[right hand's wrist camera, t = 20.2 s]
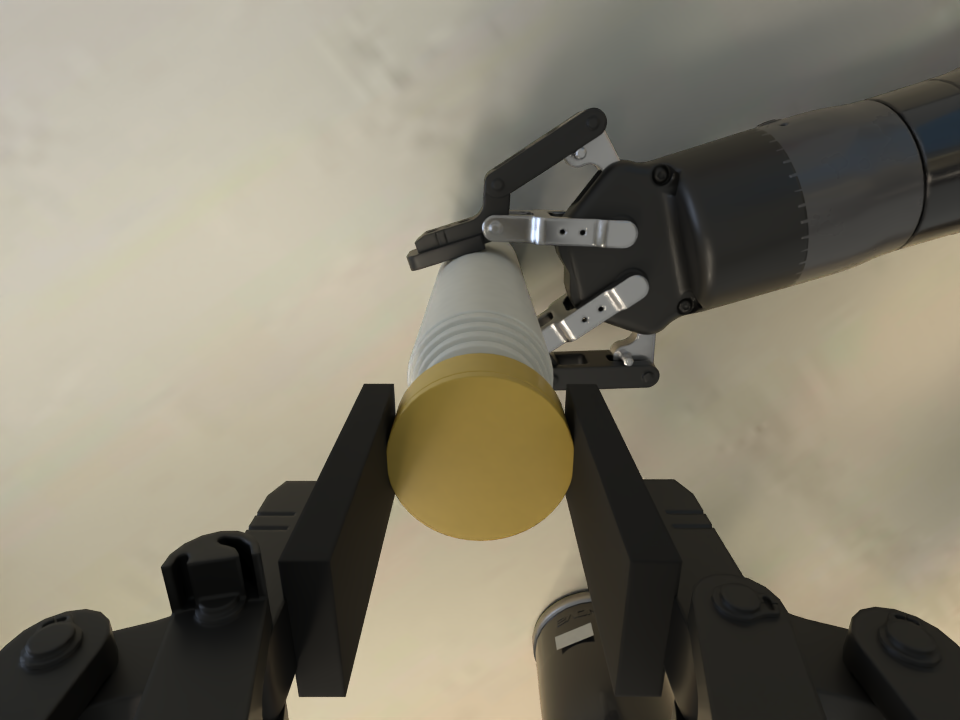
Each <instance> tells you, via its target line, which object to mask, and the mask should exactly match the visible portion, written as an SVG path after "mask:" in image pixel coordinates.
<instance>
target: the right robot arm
mask: <svg viewBox="0 0 960 720" xmlns="http://www.w3.org/2000/svg"><path fill="white" fill-rule="evenodd" d="M395 416H396V413H395V396H394V384H364V385H363V387H362V389H361V391H360V393H359V395H358V397H357V399H356V401H355V403H354V406H353V408H352V410H351V412H350V414H349V416H348V418H347V420H346V422H345V424H344V426H343V428H342V430H341V432H340V434H339V436H338V438H337V441H336V443H335V445H334V447H333V449H332V451H331V453H330V455H329V457H328V459H327V461H326V463H325V465H324V467H323V469H322V471H321V473H320V476H319V478H318V480H317V481H286V482H285V483H283V484H282V485H281V486H279V487H278V488H277V489H275V490H274V491H273V492H272V493H270V494H269V495H268V496H267V497H266V499H265V501H264V502H263V504H262V506H261V507H260V509H259V511H258V512H257V516H255V517H254V519H253V520H252V522H251V524H250V525H249V530H246V532H245V533H243V532H240V531H219V532H215V533H211V534H207V535H203V536H200V537H198V538H196V539H194V540H191V541H189V542H187V543H185V544H183V545H182V546H181V547H179V548H178V549H177V550H175V551H174V552H173V553H171V554H170V555H169V557H168V558H167V559H166V561H165V562H164V564H163V565H162V566H161V570H162V574H163V578H164V582H165V586H166V590H167V594H168V598H169V602H170V606H171V610H172V615H171V616H170V617H167V618H163V619H160V620H157V621H154V622H150V623H146V624H141V625H137V626H133V627H129V628H125V629H121V630H116V631H112V628H111V624H110V621H109V619H108V618H107V617H106V616H105V615H103V614H102V613H101V612H98V611H93V610H88V609H83V610H75V611H67V612H64V613H61V614H58V615H55V616H52V617H49V618H46V619H44V620H42V621H40V622H39V623H37V624H35V625H33V626H31V627H30V628H28V629H26V630H24V631H23V632H22V633H20V634H19V635H18V636H17V637H15V638H14V639H13V640H12V641H11V642H9V643H8V644H7V645H6V646H5V647H4V648H3V649H2V650H1V651H0V720H289V718H288V711H287V705H286V698H287V696H288V693H289V690H290V687H291V684H292V681H293V678H294V676H295V675H296V681H297V687H298V694H299V697H346V693H347V689H348V685H349V680H350V676H351V672H352V668H353V664H354V660H355V656H356V652H357V648H358V644H359V639H360V635H361V631H362V627H363V623H364V619H365V615H366V611H367V607H368V602H369V598H370V594H371V590H372V586H373V582H374V578H375V574H376V570H377V566H378V561H379V557H380V553H381V549H382V545H383V541H384V537H385V533H386V529H387V524H388V520H389V516H390V512H391V508H392V504H393V500H394V496H395V492H394V490H393V488H392V486H391V484H390V481H389V477H388V466H387V442H388V439H389V435H390V432H391V429H392V426H393V423H394V419H395ZM565 417H566V420H567V423H568V427H569V430H570V433H571V436H572V439H573V444H574V457H573V472H572V480H571V483H570V485H569V488H568V490H567V492H566V498H567V503H568V507H569V511H570V515H571V519H572V523H573V527H574V531H575V535H576V539H577V544H578V548H579V552H580V556H581V560H582V564H583V568H584V572H585V576H586V580H587V585H588V589H589V593H590V597H591V601H592V605H593V609H594V613H595V617H596V622H597V626H598V630H599V634H600V638H601V642H602V646H603V650H604V654H605V658H606V663H607V667H608V671H609V675H610V679H611V683H612V687H613V691H614V695H615V697H661V696H662V690H663V683H664V677H665V672H666V675H667V677H668V680H669V683H670V686H671V689H672V692H673V694H674V697H675V699H674V705H673V711H672V717H671V720H960V647H959V646H958V645H957V644H956V643H955V642H954V641H952V640H951V639H950V638H949V637H948V636H946V635H945V634H944V633H943V632H942V631H940V630H939V629H938V628H936V627H934V626H932V625H931V624H929V623H927V622H925V621H923V620H922V619H920V618H918V617H916V616H913V615H910V614H907V613H904V612H901V611H898V610H895V609H889V608H880V607H872V608H867V609H861V610H860V611H858V612H857V613H856V614H855V615H854V616H853V617H852V619H851V623H850V626H849V629H845V628H841V627H837V626H833V625H829V624H824V623H820V622H816V621H812V620H808V619H804V618H801V617H798V616H795V615H792V614H789V613H788V612H787V610H786V609H785V607H784V605H783V604H782V602H781V601H780V599H779V598H778V597H777V596H775V595H774V594H773V593H772V592H771V591H770V590H768V589H767V588H766V587H764V586H762V585H760V584H758V583H756V582H755V581H753V580H751V579H749V578H745V577H744V576H743V575H742V573H741V572H740V570H739V568H738V567H737V565H736V563H735V562H734V560H733V558H732V557H731V555H730V554H729V552H728V550H727V549H726V547H725V545H724V544H723V542H722V540H721V539H720V537H719V535H718V534H717V532H716V531H715V529H714V528H712V524H711V522H710V521H709V519H708V517H707V516H706V514H703V509H702V508H701V506H700V504H699V503H698V501H697V499H696V498H695V496H694V495H693V493H691V492H690V491H689V490H687V489H686V488H685V487H684V486H682V485H681V484H680V483H678V482H677V481H676V480H674V479H642V477H641V475H640V473H639V471H638V469H637V466H636V464H635V462H634V460H633V458H632V456H631V454H630V452H629V450H628V448H627V446H626V444H625V442H624V440H623V438H622V436H621V434H620V432H619V429H618V427H617V425H616V423H615V421H614V419H613V417H612V415H611V413H610V411H609V409H608V407H607V405H606V403H605V401H604V399H603V397H602V394H601V392H600V390H599V388H598V386H597V384H567V385H566V402H565Z"/></svg>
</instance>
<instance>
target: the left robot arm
mask: <svg viewBox="0 0 960 720" xmlns="http://www.w3.org/2000/svg"><path fill="white" fill-rule="evenodd" d="M606 125H607V119H606V116H605V114H604V112H603V111H601V110H600V109H598V108H590V109H587V110H584V111H581V112H578V113H577V114H575V115H574V116H572V117H571V118H569V119H568V120H566V121H565V122H563V123H561V124H560V125H558V126H557V127H555V128H554V129H552V130H551V131H549V132H548V133H546V134H545V135H543V136H542V137H540V138H539V139H537V140H536V141H534V142H533V143H531V144H530V145H528V146H527V147H525V148H524V149H522V150H521V151H519V152H517V153H516V154H514V155H513V156H511V157H510V158H508V159H507V160H505V161H504V162H502V163H501V164H499V165H498V166H496V167H495V168H493V169H492V170H490V171H489V172H488V173H487V174H486V176H485V179H484V195H483V205H482V208H481V210H480V212H479V213H478V214H476V215H475V216H473V217H470V218H467V219H464V220H461V221H458V222H454V223H451V224H448V225H445V226H442V227H438V228H435V229H432V230H429V231H426V232H425V233H424V234H422V235H421V236H420V237H419V238H418V239H417V240H416V242H415V245H416V248H417V249H414V250H412V251H410V252H409V254H408V255H407V260H408V262H409V265H410V268H411V271H415V270H419V269H423V268H426V267H429V266H432V265H436V264H439V263H442V262H445V261H449V260H452V259H455V258H458V257H461V256H464V255H467V254H471V253H475V252H478V251H481V250H484V249H486V247H485V244H486V243H489V242H518V243H533V244H538V245H555V249H556V253H557V254H558V256H559V258H560V260H561V261H562V263H563V265H564V284H565V288H566V292H567V293H566V294H564V295H563V296H561V297H560V298H559V299H557V300H556V301H554V302H553V303H552V304H551V305H550V306H549V307H548V309H547V310H546V311H544V312H543V313H541V314H540V315H538V316H537V319H538V322H539V325H540V328H541V331H542V334H543V337H544V340H545V343H546V346H547V349H548V352H549V355H550V358H551V362H552V367H553V390H554V391H555V390H566V385H567V384H597V386H598V388H599V389H616V388H647V387H651V386H653V385H655V384H656V383H657V381H658V380H659V371H658V370H657V368H656V367H655V365H654V349H655V336H656V333H658V332H660V331H661V330H663V329H664V328H665V327H666V326H667V325H668V324H669V323H671V322H672V321H673V320H675V319H677V318H679V317H681V316H683V315H687V314H692V313H697V312H702V311H706V310H709V309H713V308H716V307H720V306H723V305H727V304H730V303H734V302H737V301H741V300H744V299H748V298H751V297H755V296H758V295H762V294H765V293H769V292H772V291H776V290H779V289H783V288H786V287H790V286H793V285H797V284H800V283H804V282H807V281H811V280H814V279H818V278H821V277H825V276H828V275H832V274H835V273H838V272H841V271H844V270H847V269H850V268H852V267H855V266H857V265H860V264H862V263H864V262H867V261H869V260H871V259H874V258H876V257H878V256H881V255H883V254H886V253H889V252H892V251H895V250H899V249H902V248H906V247H909V246H913V245H916V244H920V243H923V242H927V241H930V240H934V239H937V238H941V237H944V236H948V235H952V234H956V233H960V67H959V68H957V69H955V70H953V71H951V72H948V73H946V74H944V75H941V76H938V77H935V78H931V79H928V80H925V81H922V82H919V83H916V84H913V85H910V86H907V87H903V88H900V89H897V90H894V91H891V92H888V93H884V94H881V95H878V96H875V97H872V98H868V99H865V100H863V101H859V102H855V103H851V104H846V105H841V106H835V107H828V108H823V109H818V110H813V111H809V112H806V113H802V114H798V115H795V116H792V117H789V118H785V119H778V120H771V121H767V122H765V123H762V124H760V125H758V126H757V127H756V128H754V129H750V130H747V131H744V132H741V133H738V134H734V135H731V136H728V137H725V138H722V139H719V140H715V141H712V142H709V143H706V144H703V145H699V146H696V147H693V148H690V149H687V150H684V151H680V152H677V153H674V154H671V155H668V156H665V157H661V158H658V159H655V160H652V161H648V162H641V163H637V162H633V161H628V160H620V159H619V157H618V155H617V153H616V151H615V149H614V147H613V145H612V143H611V141H610V139H609V137H608V135H607V133H606V131H605V129H606ZM561 160H564V161H565V163H566V164H568V165H570V166H573V167H582V166H584V165H587V164H592V165H594V166H596V168H597V169H598V171H597V173H596V174H595V175H594V176H593V178H592V179H591V180H590V182H589V183H588V184H587V185H586V187H585V188H584V189H583V191H582V192H581V193H580V194H579V196H578V197H577V198H576V199H575V201H574V202H573V203H572V205H571V206H570V207H569V208H568V210H567V211H566V210H509V206H510V193H512V192H513V191H515V190H516V189H518V188H519V187H521V186H523V185H524V184H526V183H527V182H529V181H530V180H532V179H533V178H535V177H537V176H538V175H540V174H541V173H543V172H544V171H546V170H547V169H549V168H550V167H552V166H554V165H555V164H557V163H558V162H560V161H561ZM584 317H585V319H583V318H584ZM602 322H605V323H608V324H611V325H614V326H617V327H620V328H623V329H626V330H629V331H632V333H631V335H630V336H629V337H628V338H626V339H624V340H619V341H617V342H615V343H614V344H613V345H612V346H611V348H610V350H595V351H565V352H552V351H553V350H555V349H556V348H558V347H559V346H561V345H562V344H564V343H566V342H572V341H575V340H576V339H578V338H580V337H581V336H583V335H584V334H586V333H587V332H589V331H590V330H592V329H593V328H595V327H596V326H598V325H599V324H601V323H602ZM533 650H534V657H535V661H536V665H537V674H538V686H539V695H540V705H541V714H542V720H671V717H672V711H673V705H674V699H675V697H674V694H673V692H672V689H671V686H670V683H669V680H668V677H667V675H666V672H665V677H664V683H663V690H662V696H661V697H615V695H614V691H613V687H612V683H611V679H610V675H609V671H608V667H607V663H606V658H605V654H604V650H603V646H602V642H601V638H600V634H599V630H598V626H597V622H596V617H595V613H594V609H593V605H592V601H591V597H590V593H589V591H586V592H581V593H576V594H573V595H570V596H567V597H565V598H563V599H561V600H559V601H557V602H556V603H554V604H553V605H552V606H550V607H549V608H548V609H547V610H546V611H545V612H544V613H543V614H542V615H541V617H540V618H539V620H538V621H537V623H536V626H535V628H534V632H533Z"/></svg>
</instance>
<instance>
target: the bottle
mask: <svg viewBox="0 0 960 720" xmlns="http://www.w3.org/2000/svg"><path fill="white" fill-rule="evenodd" d="M485 247H486V249H484V250H481V251H478V252H475V253H471V254H467V255H464V256H461V257H458V258H455V259H452V260H449V261H445V262H442V263H441V266H440V269H439V272H438V275H437V278H436V281H435V284H434V287H433V290H432V293H431V296H430V299H429V302H428V305H427V308H426V311H425V315H424V318H423V321H422V324H421V327H420V330H419V333H418V336H417V339H416V342H415V345H414V348H413V351H412V354H411V357H410V361H409V365H408V372H407V382H408V388H409V386H410V385H411V384H412V383H413V382H414V381H415V380H416V378H417V377H419V376H420V375H421V374H422V373H423V372H424V371H426V370H427V369H429V368H430V367H432V366H434V365H435V364H437V363H439V362H441V361H444V360H446V359H449V358H452V357H455V356H459V355H464V354H473V353H488V354H496V355H502V356H506V357H509V358H512V359H515V360H517V361H519V362H521V363H524V364H526V365H527V366H529V367H530V368H532V369H533V370H535V371H536V372H537V373H539V374H540V375H541V376H542V377H543V378H544V379H545V380H546V381H547V382H548V383H549V384H550V385H551V387H552V388H553V367H552V362H551V358H550V355H549V352H548V349H547V346H546V343H545V340H544V337H543V334H542V331H541V328H540V325H539V322H538V319H537V316H536V313H535V310H534V307H533V304H532V301H531V298H530V295H529V292H528V289H527V286H526V283H525V280H524V277H523V274H522V271H521V268H520V265H519V261H518V258H517V255H516V253H515V251H514V249H513V247H512V246H511V245H510V243H509V242H489V243H486V244H485Z"/></svg>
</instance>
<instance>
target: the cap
mask: <svg viewBox="0 0 960 720" xmlns="http://www.w3.org/2000/svg"><path fill="white" fill-rule="evenodd" d="M573 457H574V444H573V439H572V436H571V433H570V430H569V427H568V423H567V420H566V417H565V414H564V411H563V408H562V404H561V402H560V400H559V398H558V396H557V394H556V393H555V391H554V390H553V388H552V387H551V385H550V384H549V383H548V382H547V381H546V380H545V379H544V378H543V377H542V376H541V375H540V374H539V373H537V372H536V371H535V370H533V369H532V368H530V367H529V366H527V365H526V364H524V363H521V362H519V361H517V360H515V359H512V358H509V357H506V356H502V355H496V354H488V353H473V354H464V355H459V356H455V357H452V358H449V359H446V360H444V361H441V362H439V363H437V364H435V365H434V366H432V367H430V368H429V369H427V370H426V371H424V372H423V373H422V374H421V375H420V376H419V377H417V378H416V380H415V381H414V382H413V383H412V384H411V385H410V386H409V388H408V389H407V391H406V392H405V394H404V395H403V397H402V400H401V402H400V404H399V407H398V410H397V413H396V416H395V419H394V423H393V426H392V429H391V432H390V435H389V439H388V442H387V466H388V477H389V481H390V484H391V486H392V488H393V490H394V492H395V494H396V496H397V498H398V499H399V501H400V502H401V504H402V505H403V506H404V507H405V508H406V510H407V511H408V512H409V513H410V514H411V515H413V516H414V517H415V518H416V519H417V520H419V521H420V522H421V523H423V524H424V525H426V526H427V527H429V528H431V529H433V530H435V531H437V532H440V533H442V534H445V535H447V536H451V537H455V538H459V539H465V540H475V541H485V540H496V539H502V538H506V537H510V536H513V535H516V534H519V533H521V532H524V531H526V530H528V529H530V528H531V527H533V526H535V525H537V524H538V523H539V522H541V521H542V520H544V519H545V518H546V517H547V516H548V515H549V514H550V513H551V512H553V510H554V509H555V508H556V507H557V506H558V504H559V503H560V502H561V500H562V499H563V497H564V496H565V494H566V492H567V490H568V488H569V485H570V483H571V480H572V472H573Z"/></svg>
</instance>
